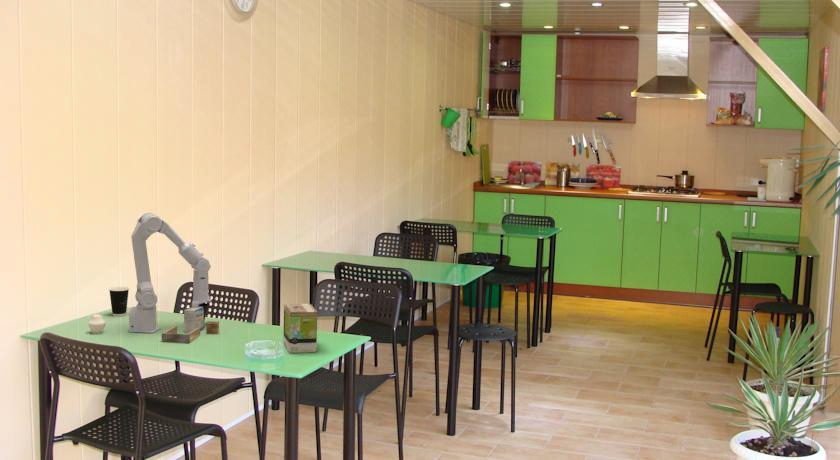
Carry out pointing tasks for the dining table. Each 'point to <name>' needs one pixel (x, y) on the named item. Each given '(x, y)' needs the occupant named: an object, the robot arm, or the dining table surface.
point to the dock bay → (179, 335)
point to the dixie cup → (119, 300)
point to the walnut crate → (212, 327)
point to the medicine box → (193, 319)
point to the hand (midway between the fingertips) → (200, 322)
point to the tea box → (300, 328)
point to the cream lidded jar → (97, 324)
